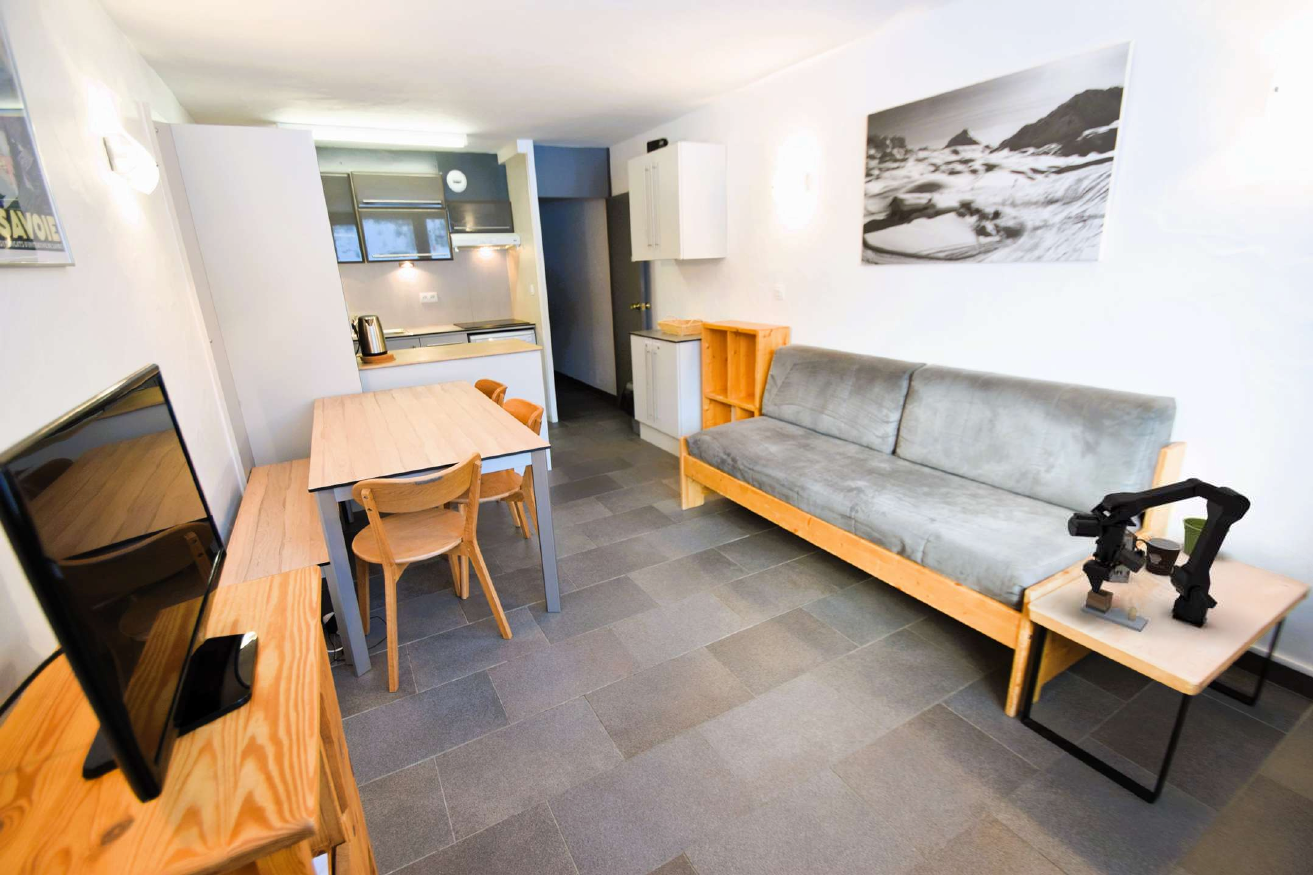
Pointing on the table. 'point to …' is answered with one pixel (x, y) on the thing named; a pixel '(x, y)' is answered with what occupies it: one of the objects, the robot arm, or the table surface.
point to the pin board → (1121, 617)
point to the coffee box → (1121, 571)
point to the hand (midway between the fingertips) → (1101, 586)
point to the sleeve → (1099, 600)
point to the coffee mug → (1161, 555)
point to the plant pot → (1192, 532)
